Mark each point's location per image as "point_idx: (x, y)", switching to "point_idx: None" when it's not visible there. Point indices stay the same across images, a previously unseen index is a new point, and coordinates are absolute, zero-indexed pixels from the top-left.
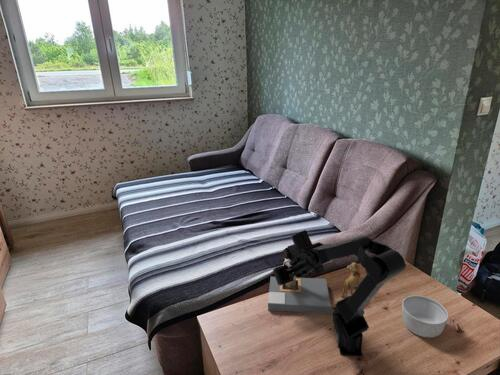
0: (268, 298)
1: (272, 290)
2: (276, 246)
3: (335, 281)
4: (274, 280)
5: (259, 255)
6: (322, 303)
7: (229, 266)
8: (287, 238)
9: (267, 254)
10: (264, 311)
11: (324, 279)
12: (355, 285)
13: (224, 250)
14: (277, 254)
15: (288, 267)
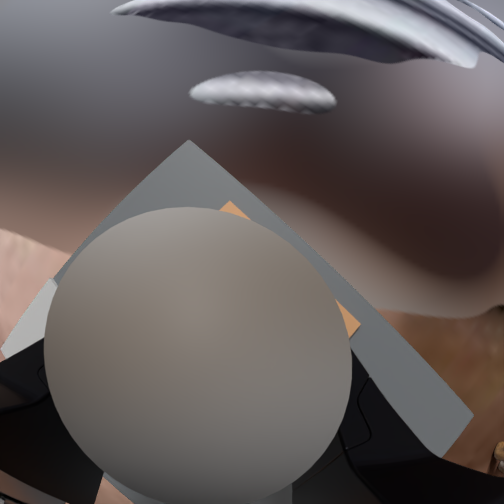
0: (16, 325)
1: None
2: (415, 25)
3: (492, 400)
4: (173, 193)
5: (316, 7)
6: None
7: (157, 4)
8: (469, 39)
9: (353, 21)
10: None
11: (465, 417)
12: (502, 468)
13: None
14: (395, 46)
15: (64, 409)
